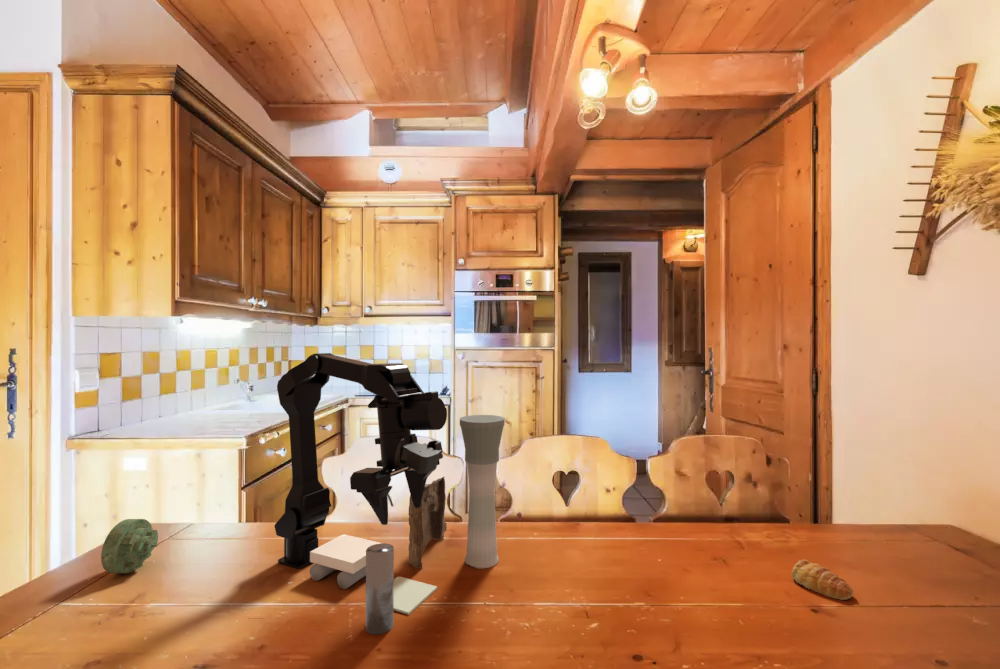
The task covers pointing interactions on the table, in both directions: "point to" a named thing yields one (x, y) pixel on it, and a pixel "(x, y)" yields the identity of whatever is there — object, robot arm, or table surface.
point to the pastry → (821, 580)
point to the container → (481, 486)
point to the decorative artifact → (128, 546)
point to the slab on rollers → (341, 559)
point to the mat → (410, 594)
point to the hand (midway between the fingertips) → (401, 515)
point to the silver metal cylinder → (379, 588)
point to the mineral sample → (426, 520)
